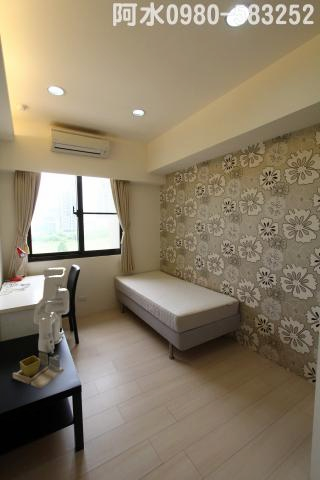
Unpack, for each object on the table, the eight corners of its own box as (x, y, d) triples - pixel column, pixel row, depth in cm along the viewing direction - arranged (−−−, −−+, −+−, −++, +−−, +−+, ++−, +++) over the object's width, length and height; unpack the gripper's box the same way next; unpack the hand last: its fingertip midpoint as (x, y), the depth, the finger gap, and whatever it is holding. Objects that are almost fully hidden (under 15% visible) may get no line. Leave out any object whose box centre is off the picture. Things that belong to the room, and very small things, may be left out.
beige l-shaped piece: (53, 367, 147) (53, 353, 146) (63, 370, 144) (63, 356, 143) (31, 384, 131) (30, 369, 130) (41, 388, 128) (40, 373, 127)
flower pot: (34, 367, 146) (33, 355, 145) (40, 373, 141) (40, 360, 140) (19, 375, 139) (19, 361, 138) (26, 381, 134) (25, 367, 133)
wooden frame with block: (40, 359, 155) (40, 348, 154) (55, 364, 150) (55, 352, 150) (12, 378, 136) (12, 365, 135) (28, 384, 131) (28, 371, 131)
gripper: (59, 334, 150) (59, 360, 152) (41, 330, 156) (41, 354, 157) (50, 339, 143) (50, 366, 145) (32, 335, 149) (32, 360, 150)
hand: (46, 360), depth 151 cm, fingers closed on wooden frame with block, 2 cm apart
